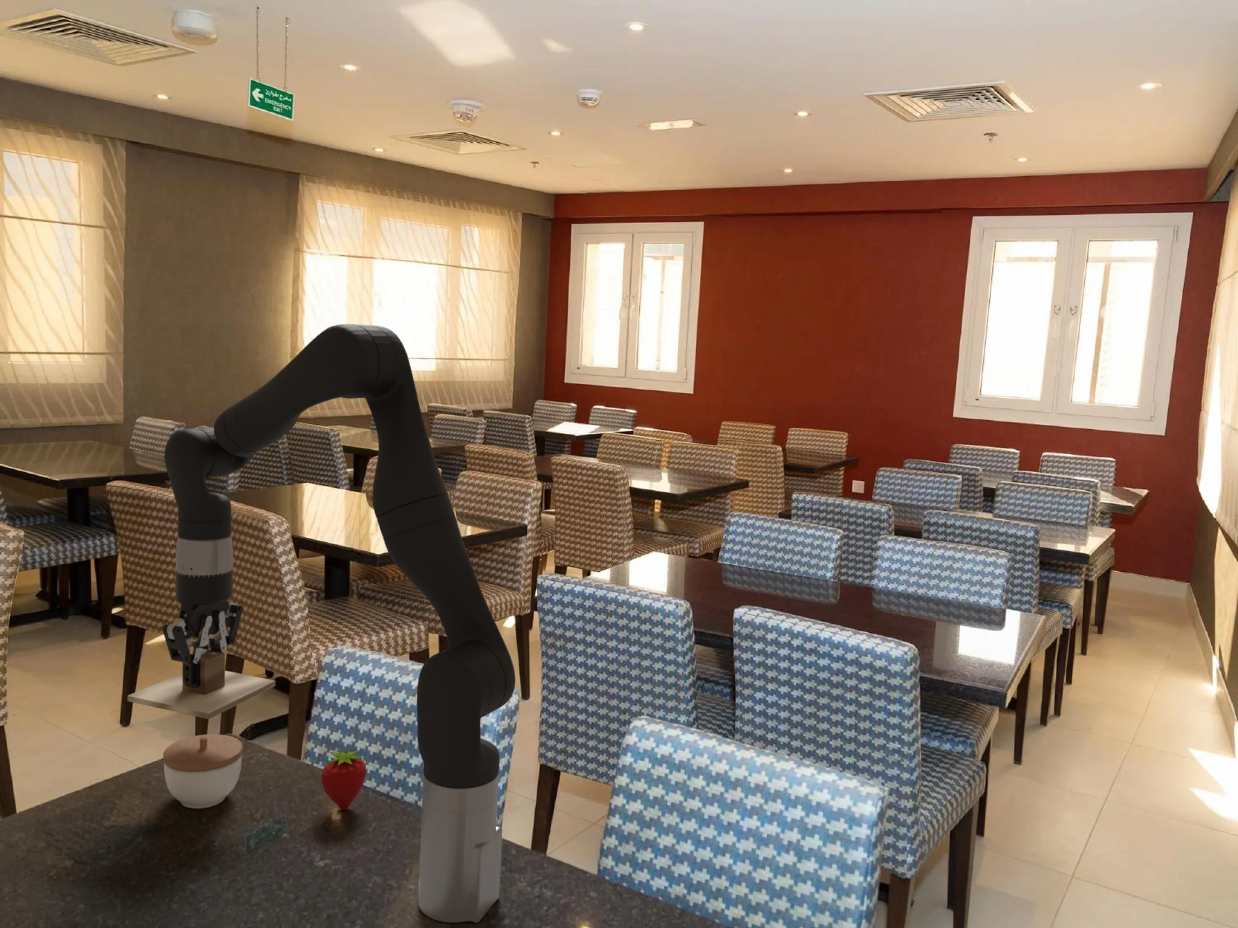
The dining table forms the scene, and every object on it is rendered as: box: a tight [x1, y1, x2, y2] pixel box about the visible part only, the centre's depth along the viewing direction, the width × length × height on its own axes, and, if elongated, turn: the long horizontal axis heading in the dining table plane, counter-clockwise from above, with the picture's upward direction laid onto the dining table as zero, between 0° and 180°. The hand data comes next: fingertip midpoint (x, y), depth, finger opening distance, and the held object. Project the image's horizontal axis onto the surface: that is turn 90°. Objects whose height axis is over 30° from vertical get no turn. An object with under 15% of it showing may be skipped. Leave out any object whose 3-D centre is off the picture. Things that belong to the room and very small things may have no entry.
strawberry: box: [320, 742, 367, 810], centre depth 142 cm, size 6×8×10 cm
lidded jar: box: [162, 734, 244, 809], centre depth 143 cm, size 11×11×9 cm
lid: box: [127, 648, 276, 720], centre depth 141 cm, size 14×14×6 cm
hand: (204, 680), depth 141 cm, fingers closed on lid, 4 cm apart
